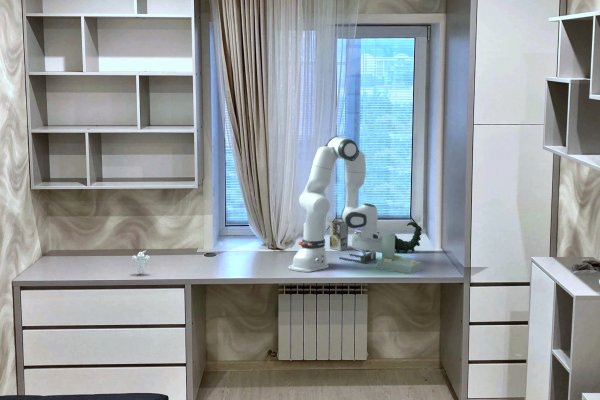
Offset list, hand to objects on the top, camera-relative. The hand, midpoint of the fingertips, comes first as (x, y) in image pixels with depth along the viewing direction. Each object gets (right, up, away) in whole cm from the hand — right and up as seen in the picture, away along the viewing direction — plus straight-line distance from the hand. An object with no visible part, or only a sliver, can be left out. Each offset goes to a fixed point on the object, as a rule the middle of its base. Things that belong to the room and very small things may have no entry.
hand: (368, 258), depth 419 cm
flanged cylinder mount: (+15, -4, -15) cm, 21 cm away
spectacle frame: (-6, -1, +4) cm, 7 cm away
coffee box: (-15, +3, +29) cm, 33 cm away
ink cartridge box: (-1, +3, +27) cm, 27 cm away
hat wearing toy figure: (-118, -6, -28) cm, 121 cm away
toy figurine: (+19, +2, +22) cm, 30 cm away
